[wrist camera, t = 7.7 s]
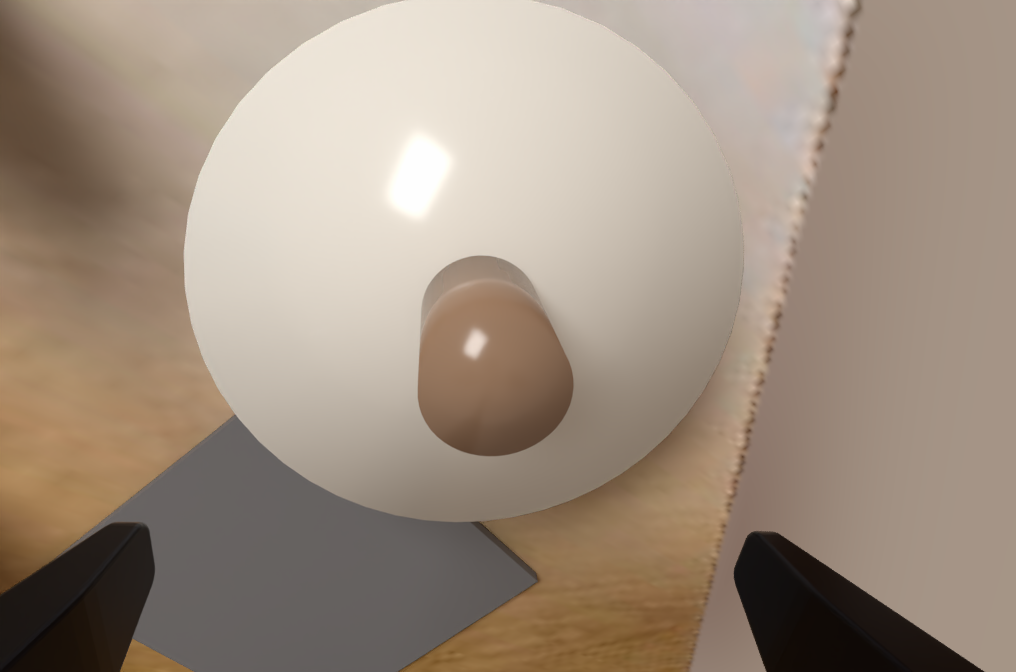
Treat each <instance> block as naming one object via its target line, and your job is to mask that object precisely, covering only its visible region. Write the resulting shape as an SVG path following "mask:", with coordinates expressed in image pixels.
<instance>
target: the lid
mask: <svg viewBox="0 0 1016 672" xmlns="http://www.w3.org/2000/svg"><path fill="white" fill-rule="evenodd" d="M743 269H744V243H743V228H742V221H741V214H740V207H739V201H738V197H737V194H736V190H735V187H734V183H733V180H732V176H731V173H730V169H729V166H728V164H727V162H726V160H725V157H724V155H723V153H722V151H721V149H720V146H719V144H718V142H717V140H716V138H715V135H714V133H713V132H712V130H711V129H710V127H709V126H708V124H707V122H706V121H705V119H704V118H703V116H702V115H701V113H700V112H699V110H698V108H697V107H696V105H695V104H694V102H693V101H692V100H691V99H690V98H689V96H688V95H687V94H686V93H685V92H684V91H683V90H682V88H681V87H680V86H679V85H678V84H677V83H676V82H675V80H674V79H673V78H672V77H671V76H670V75H669V74H668V72H666V71H665V70H664V69H663V68H662V67H660V66H659V65H658V64H657V63H656V62H655V61H653V60H652V59H651V58H650V57H649V56H647V55H646V54H645V53H644V52H643V51H642V50H640V49H639V48H638V47H637V46H635V45H634V44H632V43H630V42H629V41H627V40H625V39H624V38H622V37H621V36H619V35H617V34H616V33H614V32H612V31H611V30H609V29H608V28H606V27H604V26H603V25H601V24H598V23H596V22H594V21H591V20H589V19H587V18H584V17H582V16H580V15H577V14H575V13H572V12H570V11H568V10H565V9H563V8H560V7H556V6H552V5H548V4H544V3H540V2H536V1H532V0H406V1H401V2H396V3H391V4H387V5H383V6H381V7H378V8H375V9H373V10H370V11H367V12H365V13H362V14H360V15H357V16H354V17H352V18H349V19H346V20H344V21H341V22H340V23H338V24H336V25H334V26H333V27H331V28H329V29H327V30H326V31H324V32H322V33H320V34H319V35H317V36H315V37H313V38H312V39H310V40H308V41H306V42H305V43H303V44H302V45H300V46H299V47H298V48H297V49H295V50H294V51H293V52H292V53H290V54H289V55H288V56H287V57H285V58H284V59H283V60H282V61H280V62H279V63H278V64H277V65H275V66H274V67H273V68H272V69H270V70H269V71H268V72H267V73H266V74H265V75H264V76H263V77H262V79H261V80H260V81H259V82H258V83H257V84H256V85H255V86H254V87H253V88H252V89H251V91H250V92H249V93H248V94H247V95H246V96H245V97H244V98H243V99H242V100H241V101H240V103H239V104H238V105H237V107H236V108H235V110H234V111H233V113H232V114H231V116H230V118H229V119H228V121H227V122H226V124H225V125H224V127H223V128H222V130H221V131H220V133H219V134H218V136H217V137H216V139H215V141H214V143H213V146H212V148H211V150H210V152H209V154H208V156H207V159H206V161H205V163H204V165H203V167H202V170H201V172H200V174H199V177H198V180H197V184H196V188H195V191H194V195H193V198H192V202H191V206H190V209H189V213H188V220H187V228H186V237H185V245H184V275H185V292H186V297H187V303H188V308H189V314H190V319H191V325H192V328H193V331H194V334H195V337H196V340H197V343H198V346H199V348H200V351H201V354H202V357H203V360H204V362H205V364H206V366H207V368H208V370H209V372H210V374H211V376H212V378H213V380H214V382H215V384H216V386H217V388H218V390H219V391H220V392H221V394H222V395H223V397H224V398H225V400H226V401H227V403H228V404H229V406H230V407H231V409H232V410H233V412H234V413H235V415H236V416H237V417H238V418H239V420H240V421H241V422H242V423H243V424H244V425H245V426H246V427H247V429H248V430H249V431H250V432H251V433H252V434H253V435H254V437H255V438H256V439H257V440H258V441H259V442H260V443H261V444H262V445H263V446H265V447H266V448H267V449H268V450H269V451H270V452H271V453H273V454H274V455H275V456H276V457H277V458H278V459H279V460H280V461H282V462H283V463H284V464H286V465H287V466H288V467H290V468H291V469H293V470H294V471H296V472H297V473H299V474H300V475H301V476H303V477H304V478H306V479H307V480H309V481H310V482H312V483H314V484H316V485H318V486H320V487H322V488H324V489H325V490H327V491H329V492H331V493H333V494H335V495H337V496H339V497H342V498H344V499H347V500H349V501H352V502H354V503H357V504H359V505H362V506H364V507H367V508H371V509H374V510H378V511H382V512H385V513H389V514H392V515H397V516H402V517H408V518H414V519H420V520H428V521H444V522H475V521H489V520H497V519H504V518H511V517H517V516H521V515H525V514H529V513H533V512H537V511H542V510H545V509H548V508H551V507H553V506H556V505H559V504H562V503H565V502H568V501H571V500H573V499H575V498H577V497H579V496H581V495H584V494H586V493H588V492H590V491H592V490H594V489H597V488H598V487H600V486H602V485H603V484H605V483H607V482H608V481H610V480H612V479H613V478H615V477H617V476H619V475H620V474H622V473H623V472H625V471H626V470H627V469H629V468H630V467H631V466H633V465H634V464H635V463H637V462H638V461H640V460H641V459H642V458H644V457H645V456H646V455H647V454H648V453H650V452H651V451H652V450H653V449H654V448H655V447H656V446H657V445H658V444H659V443H660V442H662V441H663V440H664V439H665V438H666V437H667V436H668V435H669V434H670V433H671V432H672V430H673V429H674V428H675V427H676V426H677V425H678V424H679V422H680V421H681V420H682V419H683V418H684V417H685V416H686V414H687V413H688V412H689V411H690V409H691V408H692V406H693V405H694V403H695V402H696V401H697V399H698V398H699V396H700V395H701V393H702V392H703V391H704V389H705V388H706V386H707V384H708V382H709V380H710V378H711V377H712V375H713V373H714V371H715V369H716V367H717V365H718V364H719V362H720V360H721V357H722V354H723V352H724V349H725V347H726V344H727V342H728V339H729V337H730V334H731V332H732V328H733V324H734V320H735V316H736V312H737V309H738V305H739V301H740V293H741V285H742V277H743Z"/></svg>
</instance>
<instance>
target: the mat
mask: <svg viewBox="0 0 1016 672" xmlns="http://www.w3.org/2000/svg"><path fill="white" fill-rule="evenodd" d="M113 522H142V523H145V524H146V525H147V526H148V528H149V531H150V537H151V543H152V549H153V556H154V562H155V576H154V581H153V584H152V587H151V590H150V593H149V595H148V598H147V600H146V603H145V606H144V608H143V611H142V614H141V616H140V619H139V622H138V624H137V627H136V630H135V632H134V635H133V639H135V640H136V641H138V642H140V643H142V644H144V645H146V646H148V647H149V648H151V649H153V650H155V651H157V652H159V653H161V654H162V655H164V656H166V657H168V658H170V659H172V660H174V661H175V662H177V663H179V664H181V665H183V666H185V667H187V668H189V669H190V670H192V671H194V672H398V671H399V670H401V669H403V668H404V667H406V666H407V665H409V664H410V663H412V662H413V661H415V660H417V659H418V658H420V657H421V656H423V655H424V654H426V653H427V652H429V651H431V650H432V649H434V648H435V647H437V646H438V645H440V644H441V643H443V642H445V641H446V640H448V639H449V638H451V637H452V636H454V635H455V634H457V633H459V632H460V631H462V630H463V629H465V628H466V627H468V626H469V625H471V624H473V623H474V622H476V621H477V620H479V619H480V618H482V617H483V616H485V615H487V614H488V613H490V612H491V611H493V610H494V609H496V608H497V607H499V606H501V605H502V604H504V603H505V602H507V601H508V600H510V599H511V598H513V597H515V596H516V595H518V594H519V593H521V592H522V591H524V590H525V589H527V588H529V587H530V586H532V585H533V584H535V583H536V582H538V580H537V575H536V573H535V572H534V571H533V570H532V569H531V568H530V567H529V566H528V565H526V564H525V563H524V562H523V561H522V560H521V559H520V558H519V557H517V556H516V555H515V554H514V553H513V552H512V551H511V550H510V549H508V548H507V547H506V546H505V545H504V544H503V543H502V542H501V541H500V540H498V539H497V538H496V537H495V536H494V535H493V534H492V533H491V532H489V531H488V530H487V529H486V528H485V527H484V526H483V525H482V524H480V523H479V522H478V521H475V522H444V521H428V520H420V519H414V518H408V517H402V516H397V515H392V514H389V513H385V512H382V511H378V510H374V509H371V508H367V507H364V506H362V505H359V504H357V503H354V502H352V501H349V500H347V499H344V498H342V497H339V496H337V495H335V494H333V493H331V492H329V491H327V490H325V489H324V488H322V487H320V486H318V485H316V484H314V483H312V482H310V481H309V480H307V479H306V478H304V477H303V476H301V475H300V474H299V473H297V472H296V471H294V470H293V469H291V468H290V467H288V466H287V465H286V464H284V463H283V462H282V461H280V460H279V459H278V458H277V457H276V456H275V455H274V454H273V453H271V452H270V451H269V450H268V449H267V448H266V447H265V446H263V445H262V444H261V443H260V442H259V441H258V440H257V439H256V438H255V437H254V435H253V434H252V433H251V432H250V431H249V430H248V429H247V427H246V426H245V425H244V424H243V423H242V422H241V421H240V420H239V418H238V417H237V416H236V415H234V416H233V417H232V418H230V419H229V420H228V421H227V422H225V423H224V424H223V425H222V426H220V427H219V428H218V429H217V430H215V431H214V432H213V433H212V434H210V435H209V436H208V437H207V438H205V439H204V440H203V441H202V442H200V443H199V444H198V445H197V446H195V447H194V448H193V449H192V450H190V451H189V452H188V453H187V454H185V455H184V456H183V457H182V458H180V459H179V460H178V461H177V462H175V463H174V464H173V465H172V466H170V467H169V468H168V469H167V470H165V471H164V472H163V473H162V474H160V475H159V476H158V477H157V478H155V479H154V480H153V481H152V482H150V483H149V484H148V485H147V486H145V487H144V488H143V489H141V490H140V491H139V492H138V493H136V494H135V495H134V496H133V497H131V498H130V499H129V500H128V501H126V502H125V503H124V504H123V505H121V506H120V507H119V508H118V509H116V510H115V511H114V512H113V513H111V514H110V515H109V516H108V517H106V518H105V519H104V520H103V521H101V522H100V523H99V524H98V525H96V526H95V527H94V528H93V529H91V530H90V531H89V532H88V533H86V534H85V535H84V536H83V537H81V538H80V539H79V540H78V541H76V542H75V543H74V544H73V545H71V546H70V547H69V548H68V549H66V550H65V551H64V552H63V553H65V552H67V551H68V550H70V549H71V548H73V547H74V546H76V545H77V544H79V543H80V542H82V541H83V540H85V539H86V538H88V537H90V536H91V535H93V534H94V533H96V532H97V531H99V530H100V529H102V528H103V527H105V526H107V525H108V524H111V523H113ZM63 553H61V554H60V555H62V554H63ZM60 555H59V556H60ZM59 556H58V557H59ZM56 558H57V557H56ZM56 558H55V559H56Z"/></svg>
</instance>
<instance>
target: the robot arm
mask: <svg viewBox="0 0 1016 672" xmlns="http://www.w3.org/2000/svg"><path fill="white" fill-rule="evenodd" d="M154 576H155V562H154V556H153V549H152V543H151V537H150V531H149V528H148V526H147V525H146V524H145V523H142V522H113V523H111V524H108V525H107V526H105V527H103V528H102V529H100V530H99V531H97V532H96V533H94V534H93V535H91V536H90V537H88V538H86V539H85V540H83V541H82V542H80V543H79V544H77V545H76V546H74V547H73V548H71V549H70V550H68V551H67V552H65V553H63V554H62V555H60V556H59V557H57V558H56V559H54V560H53V561H51V562H50V563H48V564H47V565H45V566H44V567H42V568H41V569H39V570H37V571H36V572H34V573H33V574H31V575H30V576H28V577H27V578H25V579H24V580H22V581H21V582H19V583H18V584H16V585H15V586H13V587H11V588H10V589H8V590H7V591H5V592H4V593H2V594H1V595H0V672H120V670H121V667H122V664H123V662H124V659H125V656H126V654H127V651H128V648H129V646H130V643H131V640H132V638H133V635H134V632H135V630H136V627H137V624H138V622H139V619H140V616H141V614H142V611H143V608H144V606H145V603H146V600H147V598H148V595H149V593H150V590H151V587H152V584H153V581H154ZM734 580H735V584H736V588H737V590H738V593H739V596H740V599H741V602H742V604H743V607H744V610H745V613H746V616H747V619H748V622H749V624H750V627H751V630H752V633H753V636H754V638H755V641H756V644H757V647H758V650H759V653H760V655H761V658H762V661H763V664H764V666H765V669H766V671H767V672H984V671H983V670H981V669H980V668H978V667H976V666H975V665H974V664H972V663H970V662H969V661H968V660H966V659H965V658H963V657H961V656H960V655H959V654H957V653H956V652H954V651H953V650H951V649H950V648H948V647H947V646H945V645H944V644H942V643H941V642H939V641H938V640H936V639H935V638H933V637H932V636H931V635H929V634H927V633H926V632H924V631H923V630H922V629H920V628H919V627H917V626H915V625H914V624H913V623H911V622H910V621H908V620H907V619H905V618H904V617H902V616H901V615H899V614H898V613H896V612H894V611H893V610H892V609H890V608H889V607H887V606H886V605H884V604H883V603H881V602H880V601H878V600H877V599H875V598H874V597H872V596H871V595H869V594H868V593H866V592H865V591H863V590H862V589H860V588H859V587H857V586H856V585H854V584H853V583H852V582H850V581H848V580H847V579H846V578H844V577H843V576H841V575H840V574H838V573H837V572H835V571H834V570H832V569H831V568H829V567H828V566H826V565H825V564H823V563H822V562H820V561H819V560H817V559H816V558H814V557H813V556H811V555H810V554H808V553H807V552H805V551H804V550H802V549H801V548H799V547H798V546H796V545H795V544H793V543H792V542H790V541H789V540H787V539H786V538H784V537H783V536H781V535H780V534H778V533H776V532H766V531H765V532H764V531H754V532H751V533H750V534H749V535H748V536H747V538H746V540H745V543H744V545H743V548H742V550H741V552H740V555H739V557H738V560H737V562H736V565H735V568H734Z"/></svg>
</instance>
